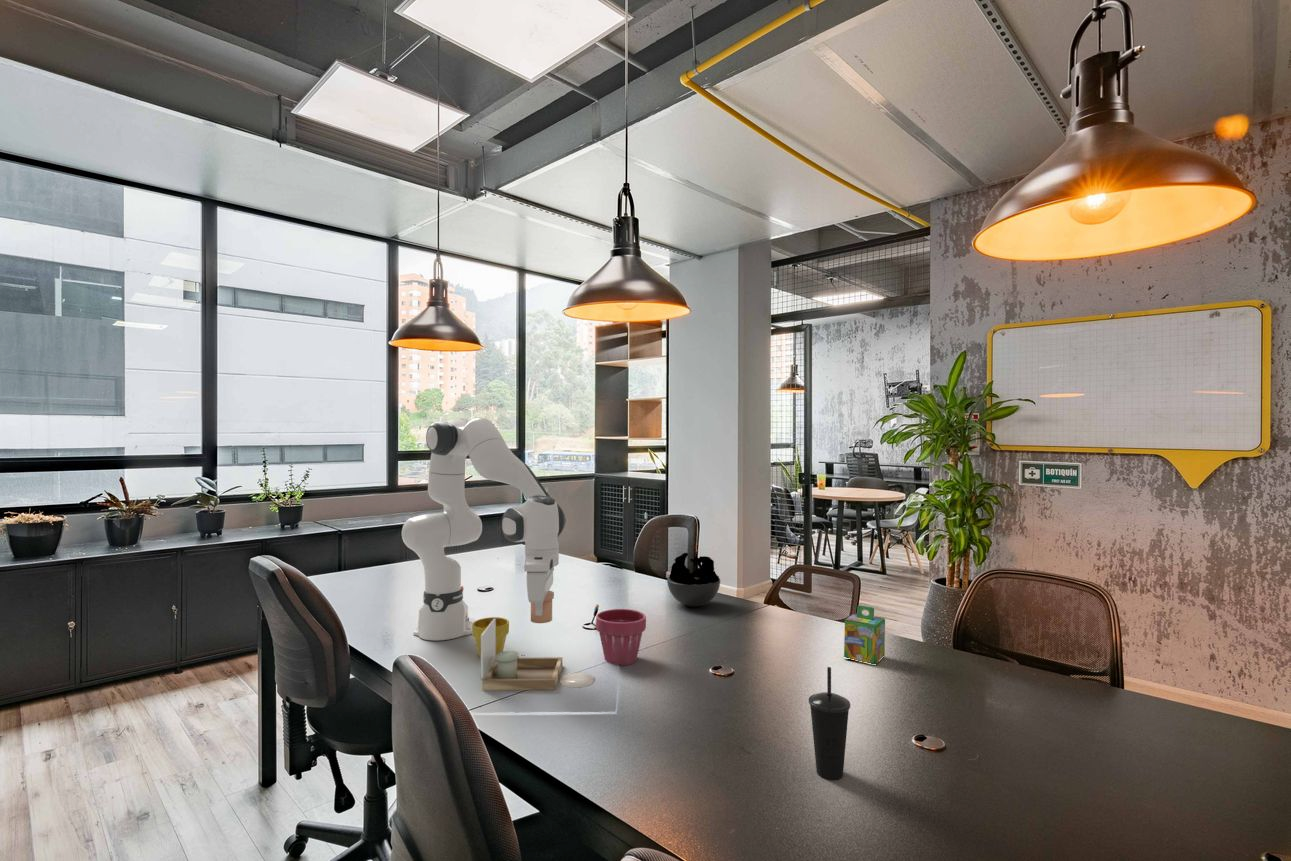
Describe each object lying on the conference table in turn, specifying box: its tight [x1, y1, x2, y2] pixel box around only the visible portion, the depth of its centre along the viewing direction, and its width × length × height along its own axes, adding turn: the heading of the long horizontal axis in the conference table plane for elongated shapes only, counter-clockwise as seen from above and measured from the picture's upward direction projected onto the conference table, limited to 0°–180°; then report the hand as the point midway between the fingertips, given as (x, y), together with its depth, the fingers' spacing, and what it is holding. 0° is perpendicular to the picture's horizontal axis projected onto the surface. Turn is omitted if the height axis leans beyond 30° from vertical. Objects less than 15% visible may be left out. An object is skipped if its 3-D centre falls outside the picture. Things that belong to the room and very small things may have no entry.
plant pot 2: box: [595, 608, 647, 666], centre depth 177 cm, size 14×14×13 cm
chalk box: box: [843, 605, 886, 665], centre depth 178 cm, size 9×9×15 cm
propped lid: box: [480, 619, 496, 682], centre depth 163 cm, size 14×1×11 cm, turn 1°
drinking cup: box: [808, 666, 851, 781], centre depth 118 cm, size 8×8×20 cm
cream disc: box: [559, 672, 595, 689], centre depth 161 cm, size 9×9×1 cm
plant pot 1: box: [471, 616, 510, 658], centre depth 181 cm, size 10×10×10 cm
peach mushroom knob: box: [530, 590, 555, 624], centre depth 163 cm, size 6×6×7 cm
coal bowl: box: [666, 552, 721, 607], centre depth 234 cm, size 20×20×19 cm
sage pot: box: [496, 650, 520, 679], centre depth 163 cm, size 6×6×6 cm
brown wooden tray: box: [482, 656, 563, 692], centre depth 163 cm, size 16×18×3 cm
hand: (541, 610), depth 163 cm, fingers closed on peach mushroom knob, 6 cm apart
